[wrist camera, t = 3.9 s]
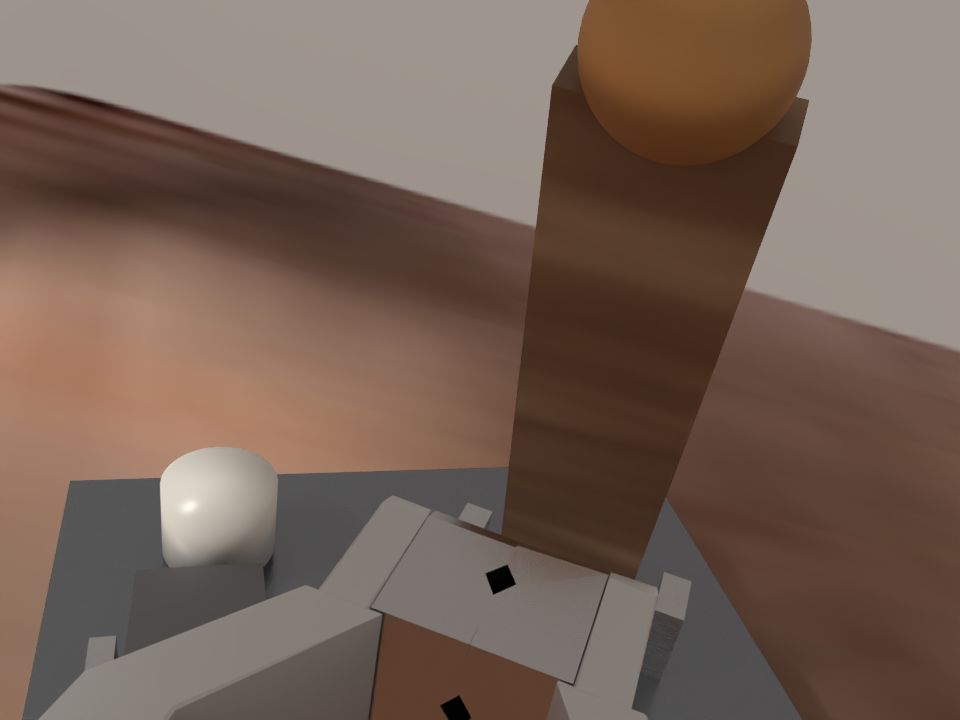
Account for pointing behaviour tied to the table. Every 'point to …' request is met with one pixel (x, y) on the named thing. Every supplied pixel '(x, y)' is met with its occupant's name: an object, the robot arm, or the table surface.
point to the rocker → (188, 599)
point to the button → (218, 508)
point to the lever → (643, 255)
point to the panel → (327, 536)
